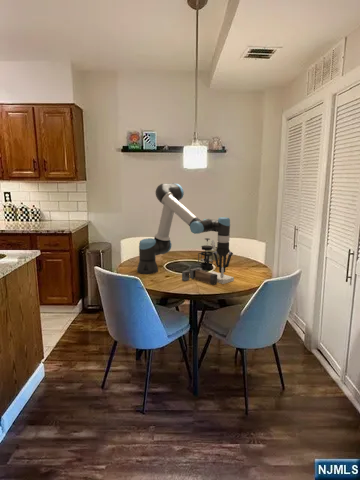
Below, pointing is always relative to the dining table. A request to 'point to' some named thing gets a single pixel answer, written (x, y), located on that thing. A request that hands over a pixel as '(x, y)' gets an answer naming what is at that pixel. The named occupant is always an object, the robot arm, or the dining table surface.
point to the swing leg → (206, 277)
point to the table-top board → (224, 279)
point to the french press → (206, 257)
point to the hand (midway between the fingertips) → (221, 277)
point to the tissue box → (212, 251)
